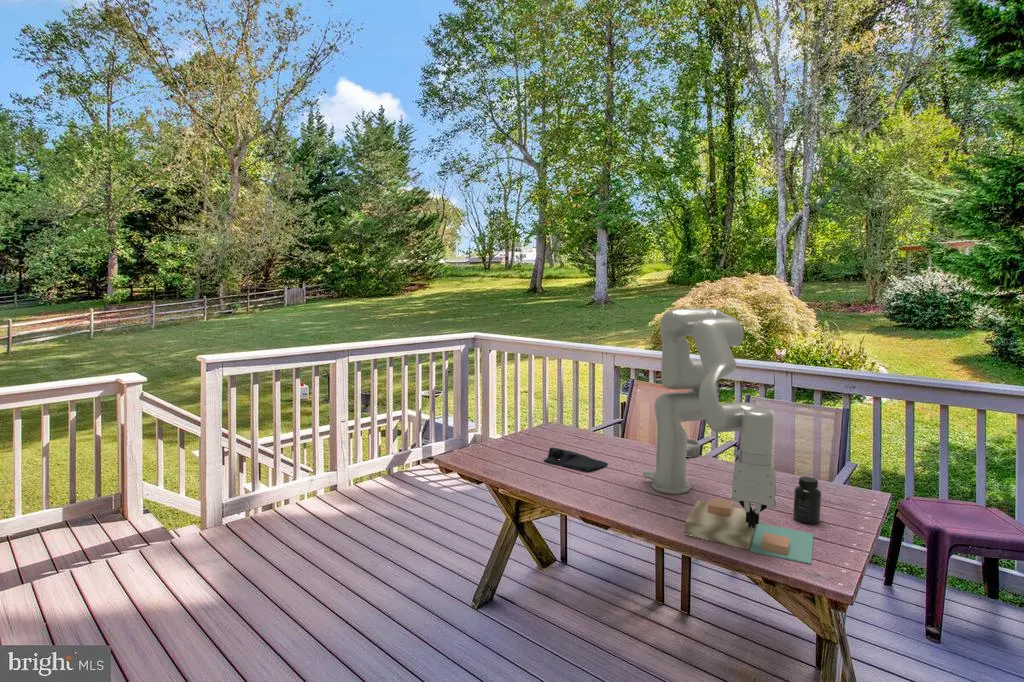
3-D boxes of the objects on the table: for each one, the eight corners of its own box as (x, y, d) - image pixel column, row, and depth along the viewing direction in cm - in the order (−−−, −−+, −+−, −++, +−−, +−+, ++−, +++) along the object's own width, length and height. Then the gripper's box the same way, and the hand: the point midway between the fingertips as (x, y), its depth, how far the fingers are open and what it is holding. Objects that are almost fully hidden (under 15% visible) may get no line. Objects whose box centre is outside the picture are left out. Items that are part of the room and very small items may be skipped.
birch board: (685, 535, 151) (685, 521, 150) (697, 513, 165) (697, 500, 164) (749, 549, 143) (750, 534, 143) (756, 525, 157) (757, 511, 157)
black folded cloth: (586, 476, 197) (586, 463, 196) (540, 462, 213) (540, 449, 212) (611, 466, 208) (612, 453, 207) (566, 453, 223) (566, 441, 223)
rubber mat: (749, 551, 142) (749, 549, 142) (757, 524, 158) (757, 522, 158) (811, 564, 135) (811, 563, 135) (813, 535, 151) (813, 533, 151)
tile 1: (707, 512, 156) (707, 505, 156) (711, 504, 162) (711, 497, 161) (730, 516, 153) (730, 509, 153) (733, 508, 159) (733, 501, 158)
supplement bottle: (825, 523, 158) (828, 482, 157) (805, 526, 156) (808, 484, 155) (806, 513, 165) (808, 474, 164) (787, 516, 163) (789, 476, 162)
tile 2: (787, 547, 139) (787, 555, 139) (790, 537, 144) (789, 545, 144) (761, 541, 142) (761, 549, 142) (764, 532, 147) (764, 539, 148)
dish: (691, 461, 213) (692, 448, 212) (657, 453, 221) (658, 441, 221) (706, 452, 223) (707, 440, 223) (673, 445, 232) (674, 433, 232)
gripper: (722, 457, 144) (719, 525, 146) (786, 466, 137) (782, 538, 139) (726, 449, 151) (724, 514, 153) (788, 457, 144) (784, 526, 146)
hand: (752, 525), depth 146 cm, fingers closed
